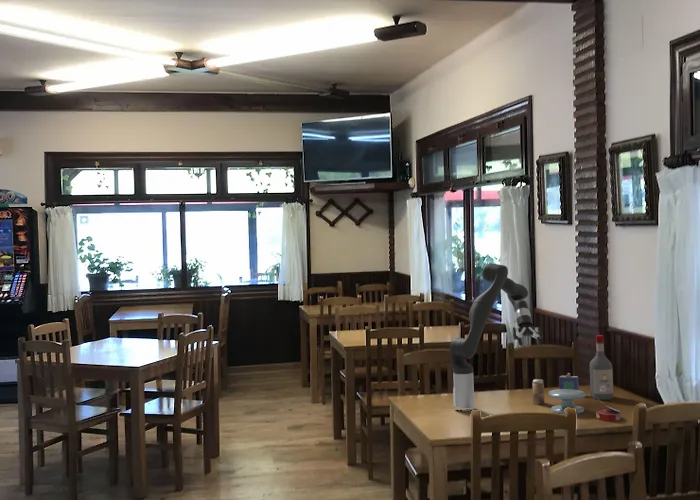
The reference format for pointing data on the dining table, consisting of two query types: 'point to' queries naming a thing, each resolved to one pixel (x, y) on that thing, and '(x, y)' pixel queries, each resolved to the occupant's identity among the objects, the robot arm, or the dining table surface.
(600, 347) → the liquor
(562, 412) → the cake stand
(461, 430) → the dining table surface
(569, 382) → the flask
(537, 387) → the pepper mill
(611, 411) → the canned food
